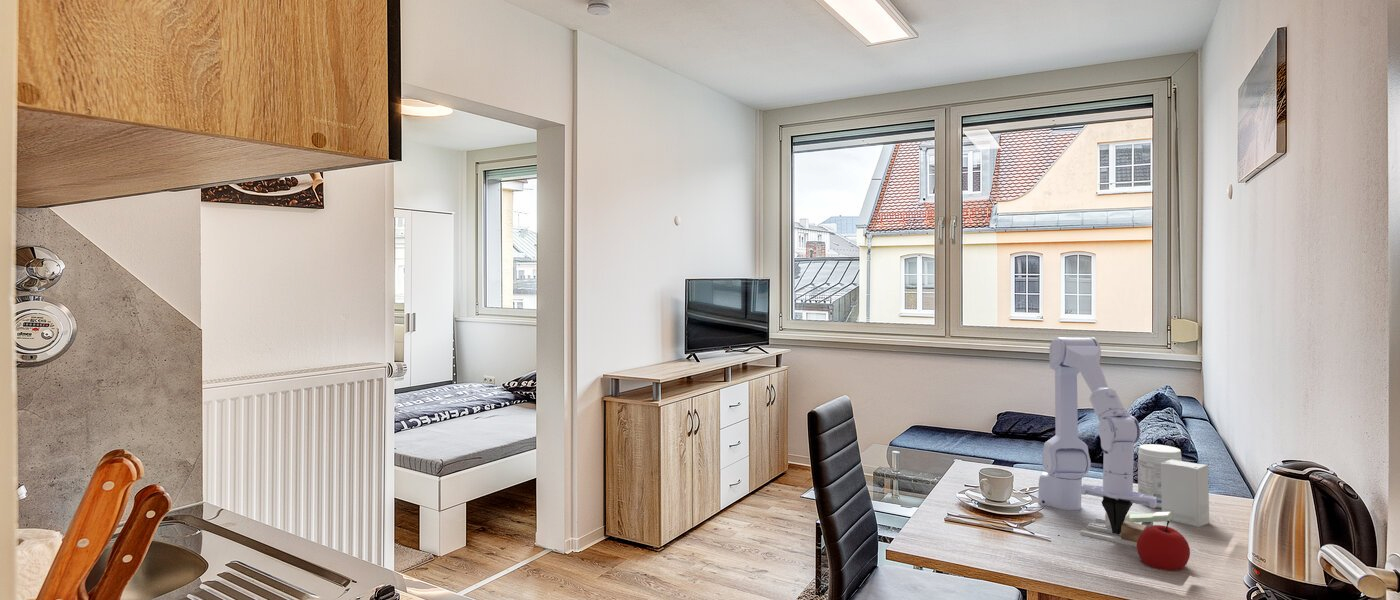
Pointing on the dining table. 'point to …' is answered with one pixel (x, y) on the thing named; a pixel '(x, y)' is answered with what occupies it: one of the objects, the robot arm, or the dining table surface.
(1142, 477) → the supplement tub
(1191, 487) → the skincare box
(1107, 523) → the white cube
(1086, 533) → the control board
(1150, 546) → the apple
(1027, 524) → the dining table surface
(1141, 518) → the sage rocker
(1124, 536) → the brown cube
